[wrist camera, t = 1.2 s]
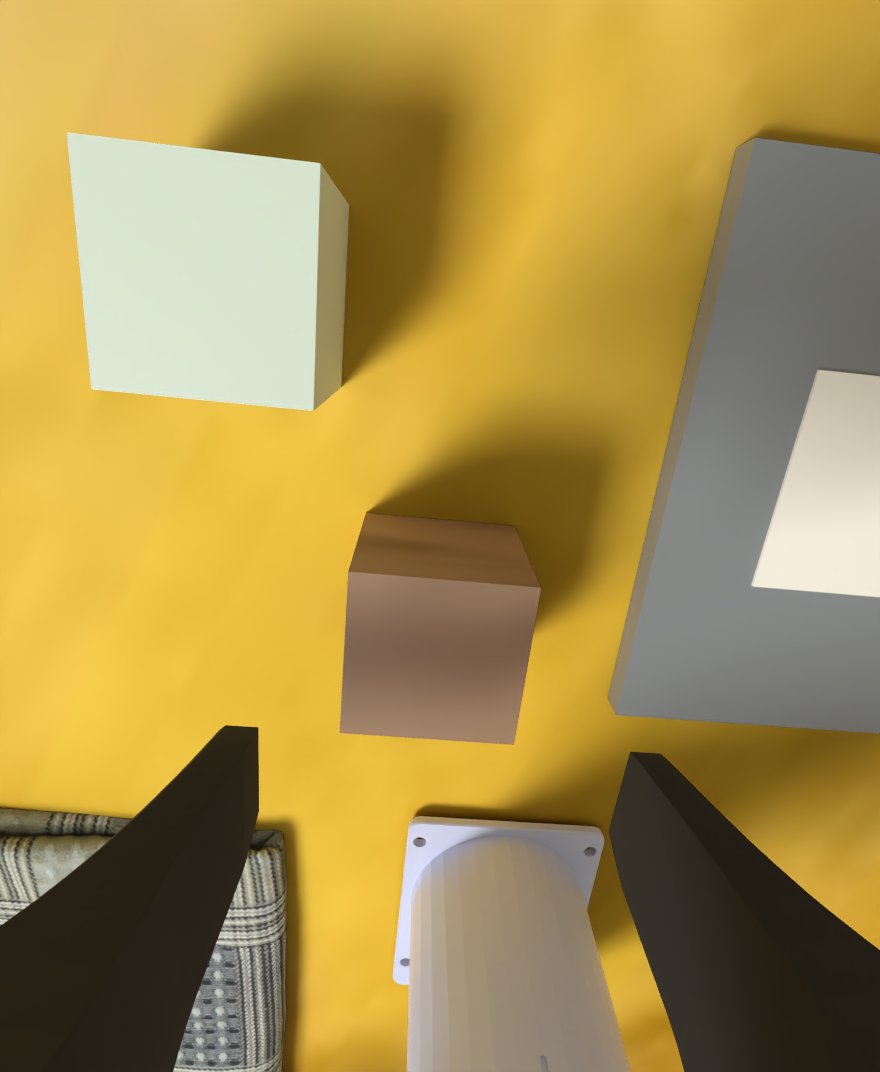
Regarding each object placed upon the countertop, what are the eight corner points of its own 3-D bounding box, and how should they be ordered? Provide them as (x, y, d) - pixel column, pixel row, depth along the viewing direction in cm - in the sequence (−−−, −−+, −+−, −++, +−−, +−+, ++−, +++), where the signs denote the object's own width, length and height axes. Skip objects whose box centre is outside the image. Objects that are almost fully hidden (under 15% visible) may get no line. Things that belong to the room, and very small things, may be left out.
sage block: (341, 386, 19) (313, 410, 14) (177, 370, 18) (91, 389, 14) (349, 205, 17) (320, 163, 12) (168, 184, 17) (66, 132, 12)
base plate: (958, 723, 23) (982, 742, 22) (607, 698, 23) (616, 716, 22) (1204, 207, 17) (1255, 200, 16) (736, 147, 16) (757, 136, 15)
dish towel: (296, 813, 25) (278, 881, 22) (288, 1081, 31) (273, 1163, 28) (-174, 783, 24) (-260, 850, 21) (-86, 1066, 30) (-144, 1150, 27)
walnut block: (494, 653, 22) (513, 744, 17) (358, 642, 22) (339, 732, 17) (514, 525, 20) (541, 587, 16) (366, 512, 20) (348, 571, 15)
